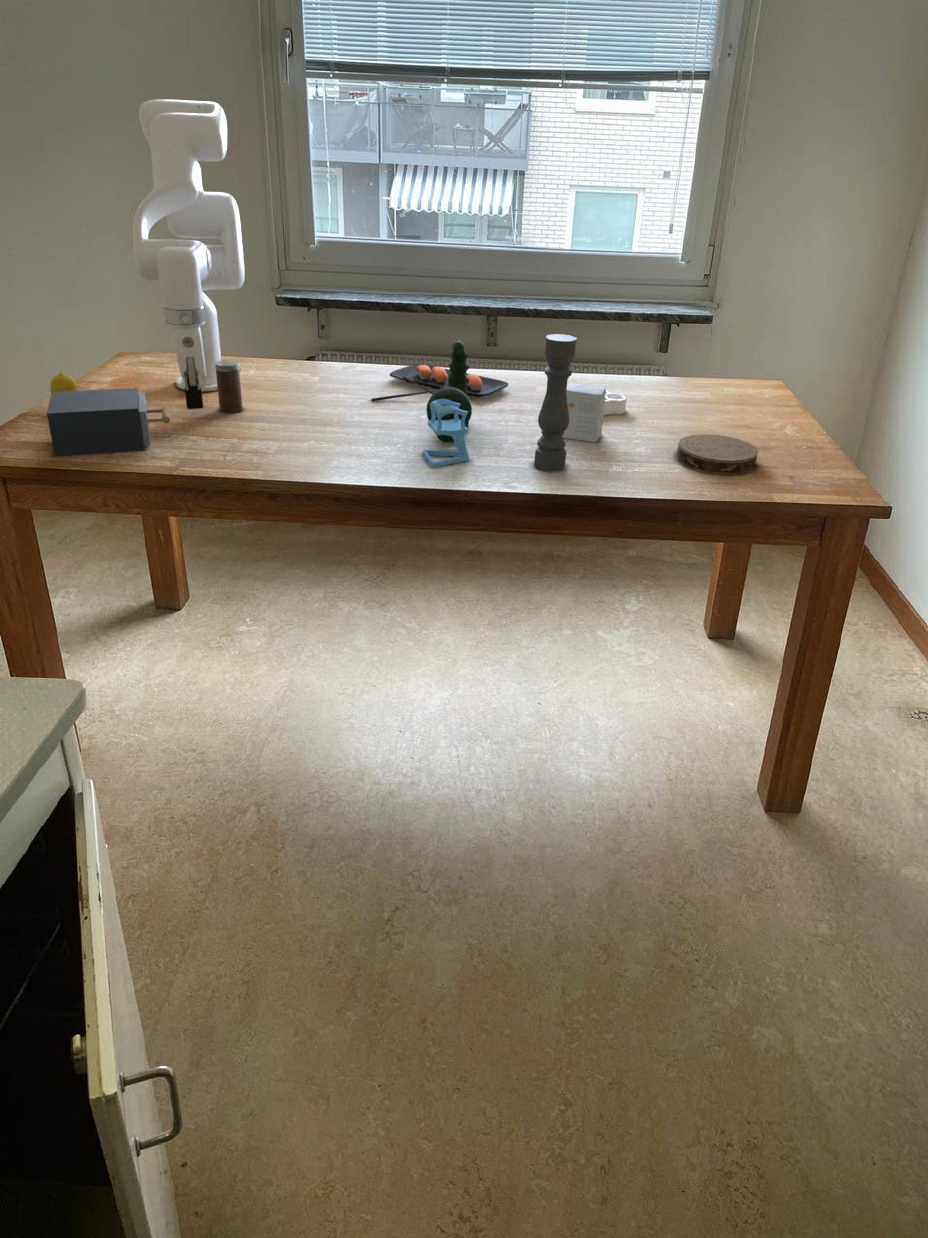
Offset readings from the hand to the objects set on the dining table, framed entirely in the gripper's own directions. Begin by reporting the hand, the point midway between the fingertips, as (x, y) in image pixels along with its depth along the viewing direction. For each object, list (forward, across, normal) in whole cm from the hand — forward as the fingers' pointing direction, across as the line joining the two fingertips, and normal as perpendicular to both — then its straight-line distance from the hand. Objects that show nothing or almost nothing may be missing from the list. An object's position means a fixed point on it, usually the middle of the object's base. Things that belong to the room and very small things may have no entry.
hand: (195, 407), depth 183 cm
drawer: (+5, -1, +15) cm, 16 cm away
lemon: (+6, +22, +26) cm, 35 cm away
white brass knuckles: (+6, +2, -89) cm, 90 cm away
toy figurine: (+6, -9, -52) cm, 54 cm away
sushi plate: (+6, +20, -56) cm, 60 cm away
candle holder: (+5, -33, -66) cm, 74 cm away
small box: (+6, -18, -80) cm, 82 cm away
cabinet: (+6, -1, +19) cm, 20 cm away
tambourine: (+5, -37, -101) cm, 108 cm away
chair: (+5, -25, -47) cm, 53 cm away
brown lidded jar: (+6, +15, -8) cm, 18 cm away
